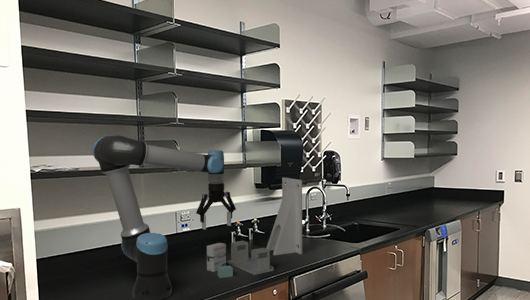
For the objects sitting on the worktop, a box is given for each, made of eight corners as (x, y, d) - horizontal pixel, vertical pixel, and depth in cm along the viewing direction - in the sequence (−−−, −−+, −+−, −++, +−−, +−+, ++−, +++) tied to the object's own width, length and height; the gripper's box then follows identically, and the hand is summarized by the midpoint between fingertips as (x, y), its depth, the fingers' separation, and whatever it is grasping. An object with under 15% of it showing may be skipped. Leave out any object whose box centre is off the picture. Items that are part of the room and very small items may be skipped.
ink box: (219, 266, 203) (219, 242, 203) (226, 268, 200) (226, 243, 200) (206, 270, 197) (206, 245, 197) (213, 272, 194) (213, 247, 194)
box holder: (254, 275, 190) (254, 253, 190) (227, 262, 209) (227, 242, 209) (273, 270, 196) (273, 249, 196) (245, 259, 216) (245, 239, 215)
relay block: (219, 278, 186) (219, 269, 186) (217, 275, 190) (217, 266, 189) (232, 276, 188) (232, 267, 188) (230, 274, 192) (230, 265, 192)
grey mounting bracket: (261, 248, 236) (261, 178, 236) (283, 245, 243) (283, 177, 242) (278, 257, 219) (278, 181, 218) (302, 254, 225) (302, 180, 224)
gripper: (196, 185, 187) (196, 232, 188) (242, 181, 202) (243, 225, 203) (188, 183, 194) (189, 229, 194) (234, 180, 208) (234, 222, 209)
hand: (216, 227), depth 198 cm, fingers open, 13 cm apart
